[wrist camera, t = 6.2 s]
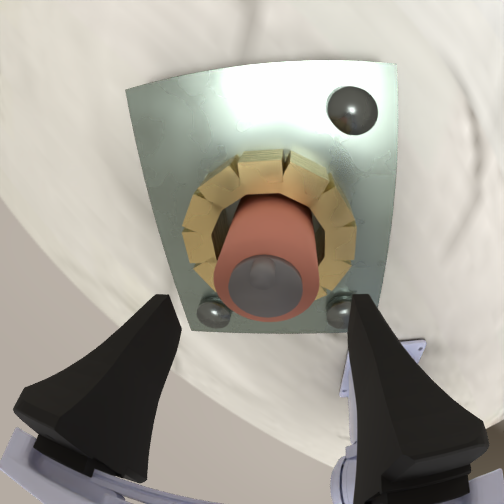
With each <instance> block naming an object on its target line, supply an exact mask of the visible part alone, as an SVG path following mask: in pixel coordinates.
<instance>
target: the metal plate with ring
mask: <svg viewBox="0 0 504 504" xmlns="http://www.w3.org/2000/svg"><path fill="white" fill-rule="evenodd" d="M125 91H126V96H127V102H128V107H129V112H130V117H131V122H132V126H133V131H134V136H135V140H136V145H137V149H138V154H139V158H140V162H141V166H142V170H143V174H144V178H145V182H146V186H147V190H148V194H149V198H150V202H151V205H152V209H153V213H154V216H155V220H156V223H157V227H158V230H159V234H160V237H161V240H162V244H163V247H164V250H165V254H166V257H167V260H168V263H169V266H170V270H171V273H172V276H173V279H174V282H175V285H176V288H177V291H178V294H179V297H180V300H181V303H182V306H183V308H184V311H185V314H186V317H187V320H188V323H189V325H190V328H191V331H205V332H228V333H273V334H298V333H343V332H347V330H348V323H349V316H350V309H351V301H352V294H369V295H370V296H371V298H372V300H373V301H374V303H375V305H376V306H377V308H378V303H379V298H380V293H381V288H382V283H383V277H384V271H385V265H386V259H387V253H388V246H389V239H390V231H391V223H392V215H393V205H394V195H395V183H396V168H397V148H398V82H397V64H392V63H381V62H366V61H339V60H316V61H289V62H274V63H262V64H252V65H243V66H235V67H228V68H221V69H215V70H209V71H203V72H197V73H192V74H187V75H182V76H177V77H173V78H168V79H164V80H160V81H156V82H152V83H148V84H144V85H140V86H137V87H133V88H130V89H126V90H125ZM266 193H281V194H283V195H285V196H287V197H289V198H291V199H293V200H295V201H298V202H300V203H302V204H304V205H306V206H308V207H309V208H310V209H311V211H312V219H313V227H314V235H315V243H316V252H317V261H318V270H319V291H318V294H317V296H316V298H315V300H314V302H313V303H312V304H311V306H310V307H309V308H308V309H306V310H305V311H304V312H303V313H301V314H299V315H298V316H295V317H293V318H291V319H288V320H284V321H278V322H261V321H255V320H251V319H248V318H245V317H243V316H241V315H239V314H237V313H235V312H234V311H232V310H231V309H230V308H228V307H227V306H226V305H225V304H224V303H223V301H222V300H221V299H220V297H219V296H218V294H217V292H216V289H215V286H214V279H213V278H214V270H215V267H216V264H217V261H218V258H219V255H220V253H221V250H222V247H223V244H224V242H225V239H226V236H227V234H228V231H229V228H230V225H231V223H232V220H233V217H234V215H235V212H236V209H237V207H238V204H239V201H240V199H241V198H242V197H243V196H245V195H247V194H266Z"/></svg>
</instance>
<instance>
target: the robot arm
mask: <svg viewBox="0 0 504 504" xmlns="http://www.w3.org/2000/svg"><path fill="white" fill-rule="evenodd" d="M181 331H182V328H181V326H180V323H179V320H178V318H177V315H176V312H175V310H174V307H173V304H172V302H171V299H170V296H169V295H163V294H156V295H155V296H153V297H152V298H151V299H150V300H149V301H148V302H147V303H146V304H145V305H144V306H143V307H141V308H140V309H139V310H138V311H137V312H136V313H135V314H134V315H133V316H132V317H131V318H130V319H129V320H128V321H127V322H126V323H125V324H124V325H123V326H121V327H120V328H119V329H118V330H117V331H116V332H115V333H114V334H113V335H111V336H110V337H109V338H108V339H107V340H106V341H104V342H103V343H102V344H101V345H100V346H98V347H97V348H96V349H94V350H93V351H92V352H90V353H89V354H88V355H86V356H85V357H83V358H82V359H80V360H79V361H77V362H76V363H74V364H72V365H71V366H69V367H68V368H66V369H64V370H63V371H61V372H59V373H57V374H55V375H53V376H51V377H49V378H47V379H45V380H42V381H40V382H38V383H35V384H33V385H30V386H28V387H25V388H24V389H23V391H22V393H21V395H20V397H19V399H18V400H17V402H16V404H15V406H14V408H13V411H14V413H15V414H16V415H17V416H18V417H19V418H20V419H21V420H22V421H23V422H25V423H26V424H27V425H28V426H29V427H30V428H32V429H33V430H34V431H35V432H37V433H38V434H39V435H38V437H37V439H36V438H35V437H33V436H32V435H30V434H28V433H26V432H25V431H23V430H21V429H20V428H18V427H16V428H15V430H14V432H13V435H12V436H11V439H10V441H9V443H8V445H7V447H6V450H5V452H4V454H3V456H2V458H1V461H0V470H1V471H3V472H4V473H5V474H6V475H8V476H9V477H10V478H12V479H13V480H14V481H15V482H17V483H18V484H19V485H20V486H22V487H23V488H24V489H25V490H27V491H28V492H29V493H30V494H32V495H33V496H34V497H36V498H37V499H38V500H39V501H41V502H42V503H44V504H132V503H130V502H127V501H125V498H124V497H123V496H125V497H128V498H131V499H134V500H137V501H140V502H143V503H146V504H222V503H215V502H209V501H204V500H198V499H193V498H189V497H184V496H179V495H175V494H171V493H167V492H163V491H159V490H155V489H152V488H148V487H145V486H142V485H139V484H135V483H132V482H129V481H126V480H123V479H120V478H125V479H128V480H131V481H134V482H137V483H143V482H145V481H146V480H147V470H148V456H149V449H150V442H151V435H152V430H153V424H154V419H155V415H156V410H157V406H158V401H159V398H160V395H161V392H162V389H163V387H164V384H165V381H166V379H167V376H168V373H169V371H170V368H171V365H172V363H173V360H174V357H175V355H176V352H177V348H178V344H179V340H180V335H181ZM347 334H348V354H347V359H346V364H345V369H344V374H343V378H342V383H341V387H340V392H339V396H340V397H348V407H349V429H350V441H351V444H352V445H350V446H347V447H346V456H343V457H341V458H340V459H339V460H338V462H337V464H336V465H335V467H334V469H333V471H332V475H331V485H330V489H331V497H332V501H333V504H504V479H503V473H502V469H497V470H495V471H492V472H490V473H487V474H484V475H482V476H479V477H476V478H474V479H472V480H469V481H468V474H469V473H471V466H470V463H471V462H473V461H474V460H476V459H477V458H478V457H480V456H481V455H482V454H484V453H485V452H486V451H487V449H488V447H489V442H488V436H487V432H486V429H485V426H484V423H483V421H482V420H480V419H479V418H477V417H476V416H475V415H473V414H472V413H470V412H469V411H467V410H466V409H465V408H463V407H462V406H461V405H459V404H458V403H457V402H456V401H454V400H453V399H452V398H451V397H450V396H449V395H448V394H447V393H445V392H444V391H443V390H442V389H441V388H440V387H439V386H438V385H437V384H436V383H435V382H434V381H433V380H432V379H431V378H430V377H429V376H428V375H427V374H426V373H425V372H424V371H423V370H422V369H421V367H420V366H419V365H418V362H419V360H420V358H421V356H422V353H423V351H424V349H425V347H426V341H425V340H415V341H404V342H400V341H399V340H398V338H397V337H396V336H395V334H394V333H393V331H392V330H391V328H390V327H389V325H388V324H387V322H386V321H385V319H384V318H383V316H382V315H381V313H380V311H379V310H378V308H377V306H376V305H375V303H374V301H373V300H372V298H371V296H370V295H369V294H352V301H351V309H350V316H349V323H348V330H347ZM115 476H117V477H120V478H117V477H115Z"/></svg>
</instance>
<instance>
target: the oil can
mask: <svg viewBox="0 0 504 504" xmlns="http://www.w3.org/2000/svg"><path fill="white" fill-rule="evenodd" d="M213 279H214V286H215V289H216V292H217V294H218V296H219V297H220V299H221V300H222V301H223V303H224V304H225V305H226V306H227V307H228V308H230V309H231V310H232V311H234V312H235V313H237V314H239V315H241V316H243V317H245V318H248V319H251V320H255V321H261V322H278V321H284V320H288V319H291V318H293V317H295V316H298V315H299V314H301V313H303V312H304V311H305V310H306V309H308V308H309V307H310V306H311V304H312V303H313V302H314V300H315V298H316V296H317V294H318V291H319V270H318V261H317V252H316V243H315V235H314V227H313V219H312V211H311V209H310V208H309V207H308V206H306V205H304V204H302V203H300V202H298V201H295V200H293V199H291V198H289V197H287V196H285V195H283V194H281V193H266V194H247V195H245V196H243V197H242V198H241V199H240V201H239V204H238V207H237V209H236V212H235V215H234V217H233V220H232V223H231V225H230V228H229V231H228V234H227V236H226V239H225V242H224V244H223V247H222V250H221V253H220V255H219V258H218V261H217V264H216V267H215V270H214V278H213Z"/></svg>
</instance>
